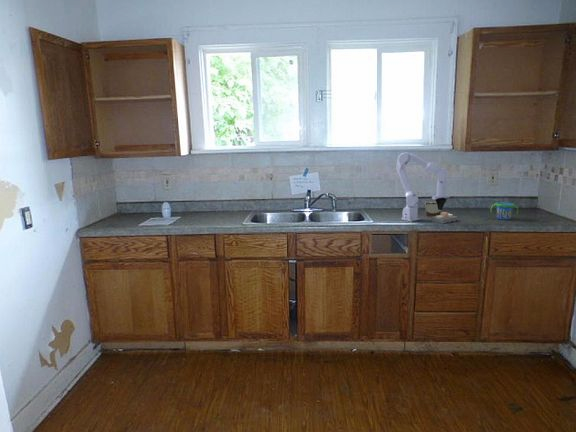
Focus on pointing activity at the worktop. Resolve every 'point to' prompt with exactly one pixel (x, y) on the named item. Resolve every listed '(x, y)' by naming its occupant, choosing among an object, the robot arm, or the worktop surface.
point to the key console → (444, 219)
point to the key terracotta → (444, 214)
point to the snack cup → (504, 210)
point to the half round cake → (432, 209)
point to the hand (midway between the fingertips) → (440, 209)
